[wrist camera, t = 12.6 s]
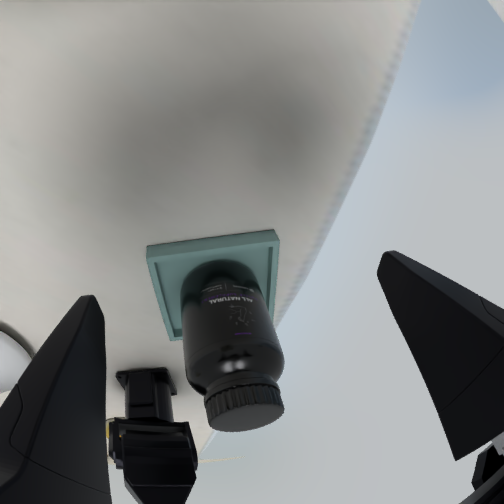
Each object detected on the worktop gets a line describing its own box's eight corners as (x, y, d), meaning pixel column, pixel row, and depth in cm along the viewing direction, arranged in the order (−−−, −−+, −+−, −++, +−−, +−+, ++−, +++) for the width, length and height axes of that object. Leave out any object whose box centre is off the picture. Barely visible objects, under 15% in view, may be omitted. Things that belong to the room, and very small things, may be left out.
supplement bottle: (234, 243, 23) (280, 381, 14) (269, 293, 27) (315, 411, 18) (161, 283, 24) (170, 422, 14) (205, 325, 28) (229, 443, 19)
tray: (268, 313, 30) (272, 325, 29) (169, 329, 28) (170, 341, 27) (273, 229, 24) (279, 240, 23) (147, 246, 22) (145, 258, 21)
